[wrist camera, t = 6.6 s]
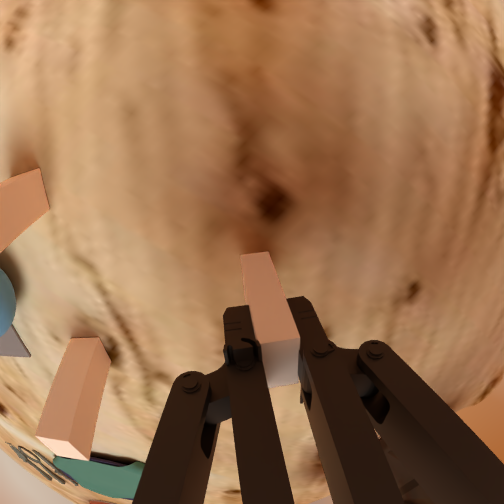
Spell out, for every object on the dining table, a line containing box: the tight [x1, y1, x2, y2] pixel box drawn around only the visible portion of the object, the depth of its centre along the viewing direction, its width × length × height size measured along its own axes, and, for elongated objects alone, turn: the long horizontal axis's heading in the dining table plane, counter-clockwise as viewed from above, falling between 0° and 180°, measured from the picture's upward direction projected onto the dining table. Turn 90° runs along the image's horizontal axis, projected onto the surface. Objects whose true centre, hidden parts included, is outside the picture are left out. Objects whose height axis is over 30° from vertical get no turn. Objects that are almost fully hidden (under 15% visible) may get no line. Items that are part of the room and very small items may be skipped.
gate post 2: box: [35, 337, 111, 461], centre depth 16 cm, size 3×3×9 cm
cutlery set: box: [6, 442, 145, 500], centre depth 32 cm, size 20×30×2 cm, turn 94°
